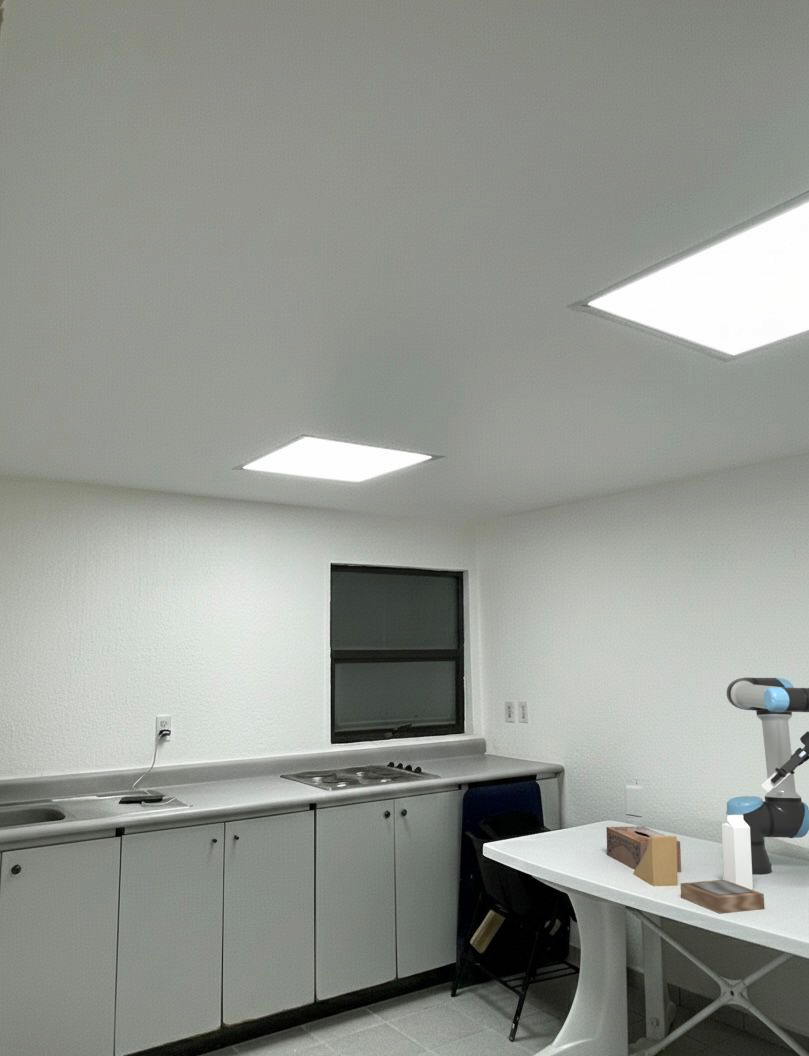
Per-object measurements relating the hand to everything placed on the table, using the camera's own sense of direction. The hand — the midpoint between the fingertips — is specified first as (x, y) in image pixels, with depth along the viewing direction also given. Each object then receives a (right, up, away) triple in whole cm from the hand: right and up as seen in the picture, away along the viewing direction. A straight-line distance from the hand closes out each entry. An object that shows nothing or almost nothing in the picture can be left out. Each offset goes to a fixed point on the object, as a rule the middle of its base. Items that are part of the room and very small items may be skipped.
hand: (768, 786), depth 249 cm
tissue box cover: (-30, -37, +30) cm, 56 cm away
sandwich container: (-32, -33, +9) cm, 47 cm away
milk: (-9, -32, 0) cm, 33 cm away
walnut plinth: (-20, -29, -16) cm, 39 cm away
